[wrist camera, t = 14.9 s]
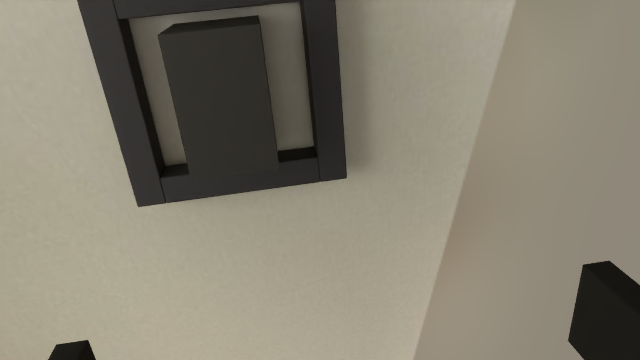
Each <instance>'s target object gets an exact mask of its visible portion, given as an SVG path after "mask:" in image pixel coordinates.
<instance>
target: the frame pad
mask: <svg viewBox="0 0 640 360" xmlns="http://www.w3.org/2000/svg"><path fill="white" fill-rule="evenodd" d="M77 1H78V5H79V8H80V12H81V15H82V18H83V22H84V25H85V29H86V32H87V35H88V39H89V42H90V46H91V49H92V52H93V56H94V59H95V63H96V66H97V69H98V73H99V76H100V80H101V83H102V86H103V90H104V93H105V97H106V100H107V103H108V107H109V110H110V114H111V117H112V120H113V124H114V127H115V131H116V134H117V137H118V141H119V144H120V148H121V151H122V154H123V158H124V161H125V165H126V168H127V171H128V175H129V178H130V182H131V185H132V188H133V192H134V195H135V199H136V202H137V205H138V207H142V206H149V205H156V204H163V203H166V202H167V203H171V202H178V201H185V200H192V199H200V198H207V197H214V196H221V195H229V194H236V193H243V192H250V191H258V190H265V189H272V188H279V187H287V186H294V185H301V184H308V183H316V182H320V181H321V182H323V181H330V180H338V179H345V178H347V172H346V157H345V142H344V127H343V112H342V96H341V81H340V66H339V51H338V36H337V20H336V5H335V0H77ZM297 1H300V5H301V15H302V26H303V36H304V46H305V57H306V67H307V77H308V88H309V98H310V108H311V119H312V129H313V139H314V147H310V148H303V149H295V150H287V151H280V152H278V159H279V167H280V170H278V171H270V172H263V173H255V174H248V175H241V176H233V177H226V178H219V179H211V180H204V181H197V182H192V181H191V177H190V173H189V169H188V164H180V165H172V166H166V167H165V165H164V161H163V157H162V153H161V149H160V145H159V141H158V137H157V133H156V129H155V125H154V121H153V117H152V113H151V110H150V106H149V102H148V98H147V94H146V90H145V86H144V82H143V78H142V74H141V70H140V66H139V62H138V58H137V54H136V50H135V47H134V43H133V39H132V35H131V31H130V27H129V23H128V19H129V18H139V17H149V16H159V15H168V14H178V13H188V12H198V11H208V10H218V9H228V8H238V7H248V6H258V5H268V4H277V3H287V2H297Z"/></svg>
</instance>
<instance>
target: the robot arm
mask: <svg viewBox="0 0 640 360" xmlns="http://www.w3.org/2000/svg"><path fill="white" fill-rule="evenodd" d="M568 341H569V342H570V344H571V345H572V346H573V347H574V348H575V349H576V351H577V352H578V353H579V354H580V355H581V356H582V358H583V359H584V360H640V285H639V284H638V283H636V282H635V281H634V280H633V279H631V278H630V277H629V276H628V275H626V274H625V273H624V272H623V271H621V270H620V269H619V268H618V267H616V266H615V265H614V264H613V263H611V262H610V261H604V262H597V263H591V264H585V265H583V268H582V273H581V278H580V283H579V288H578V293H577V298H576V303H575V308H574V313H573V318H572V323H571V328H570V334H569V338H568ZM48 360H96V359H95V356H94V354H93V351H92V349H91V346H90V344H89V341H88V340H84V341H78V342H71V343H65V344H58V345H56V346H55V348H54V350H53V352H52V354H51V355H50V357H49V359H48Z"/></svg>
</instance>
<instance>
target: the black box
mask: <svg viewBox="0 0 640 360" xmlns="http://www.w3.org/2000/svg"><path fill="white" fill-rule="evenodd" d="M158 39H159V43H160V48H161V52H162V56H163V61H164V65H165V69H166V74H167V78H168V82H169V87H170V91H171V95H172V100H173V104H174V108H175V113H176V117H177V121H178V126H179V130H180V134H181V138H182V143H183V147H184V151H185V156H186V160H187V164H188V169H189V173H190V177H191V181H192V182H197V181H204V180H211V179H219V178H226V177H233V176H241V175H248V174H255V173H263V172H270V171H278V170H280V167H279V159H278V152H277V145H276V137H275V130H274V123H273V115H272V108H271V101H270V93H269V86H268V79H267V71H266V64H265V57H264V49H263V42H262V35H261V27H260V21H259V16H258V15H257V16H248V17H238V18H228V19H219V20H209V21H200V22H190V23H180V24H173V25H172V26H170V27H169V28H167V29H166V30H164V31H163V32H161V33H160V34H158Z"/></svg>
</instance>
